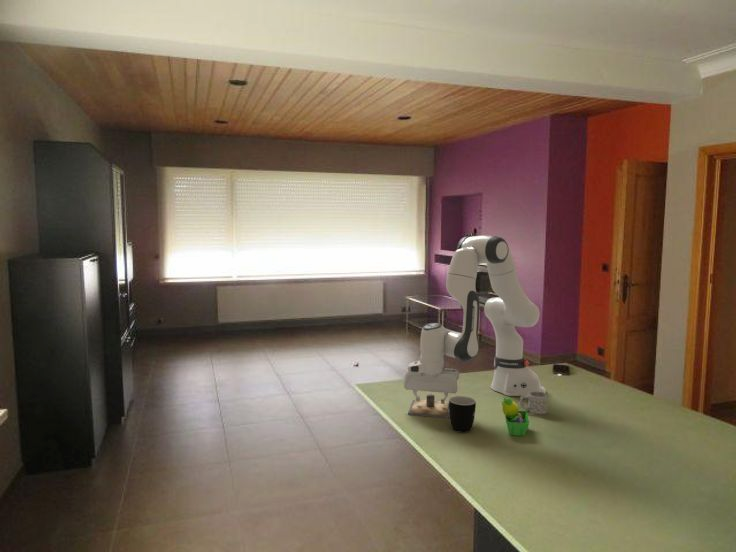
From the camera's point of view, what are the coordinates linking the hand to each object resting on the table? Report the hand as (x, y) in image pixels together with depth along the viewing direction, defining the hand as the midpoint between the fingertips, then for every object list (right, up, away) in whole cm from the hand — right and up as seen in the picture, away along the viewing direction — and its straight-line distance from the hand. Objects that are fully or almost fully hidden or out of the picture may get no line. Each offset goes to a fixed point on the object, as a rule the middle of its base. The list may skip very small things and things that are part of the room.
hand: (430, 402), depth 198 cm
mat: (0, -3, 0) cm, 3 cm away
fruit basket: (+27, -5, -19) cm, 33 cm away
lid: (0, -2, 0) cm, 2 cm away
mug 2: (+39, -4, 0) cm, 39 cm away
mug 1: (+9, -5, -17) cm, 19 cm away
